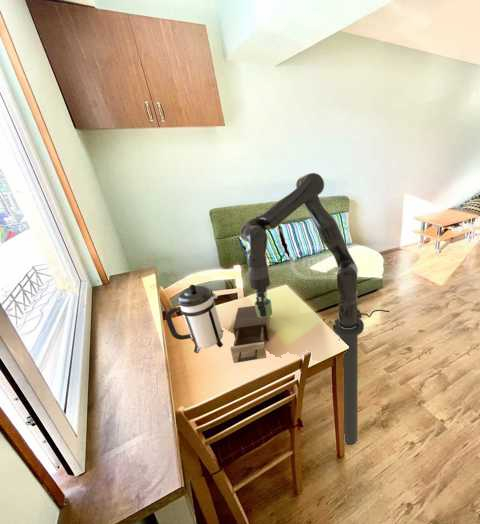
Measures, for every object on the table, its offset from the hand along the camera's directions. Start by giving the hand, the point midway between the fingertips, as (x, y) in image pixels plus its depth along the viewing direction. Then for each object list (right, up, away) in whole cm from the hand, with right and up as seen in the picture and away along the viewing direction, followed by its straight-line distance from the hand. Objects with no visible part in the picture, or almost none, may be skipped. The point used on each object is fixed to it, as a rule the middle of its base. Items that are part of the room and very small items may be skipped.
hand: (263, 311), depth 114 cm
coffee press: (-28, -16, +9) cm, 34 cm away
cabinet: (-10, -13, +17) cm, 23 cm away
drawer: (-6, -18, +3) cm, 19 cm away
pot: (0, -1, 0) cm, 1 cm away
